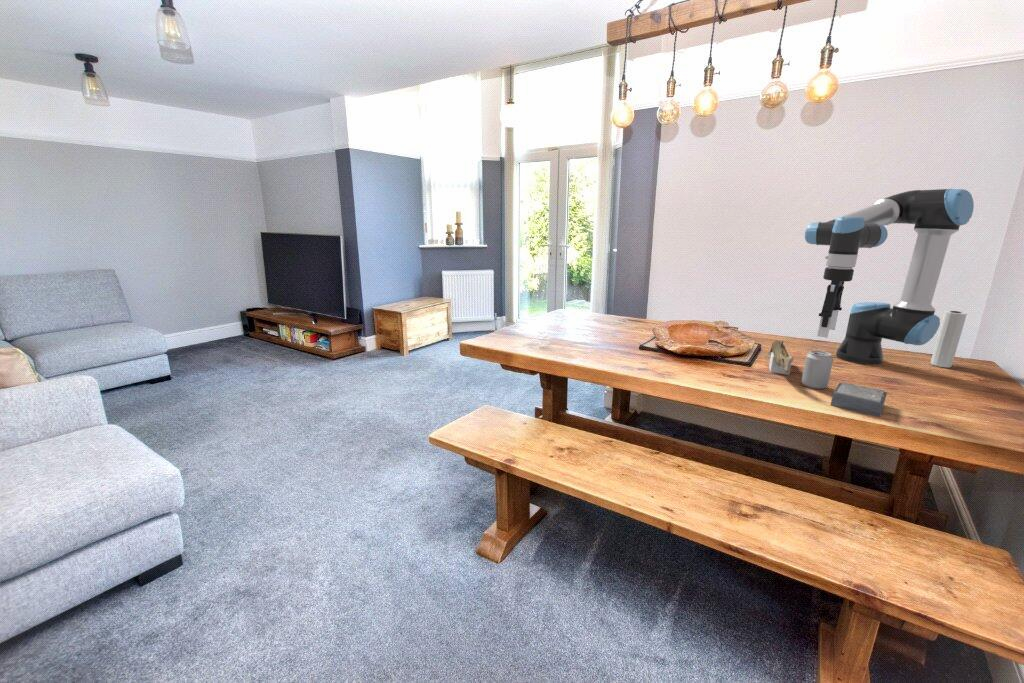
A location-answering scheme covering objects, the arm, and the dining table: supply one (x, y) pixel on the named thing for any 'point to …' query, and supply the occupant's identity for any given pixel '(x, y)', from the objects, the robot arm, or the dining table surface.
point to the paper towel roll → (948, 338)
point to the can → (817, 369)
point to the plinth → (859, 398)
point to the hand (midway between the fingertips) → (826, 333)
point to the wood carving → (779, 358)
